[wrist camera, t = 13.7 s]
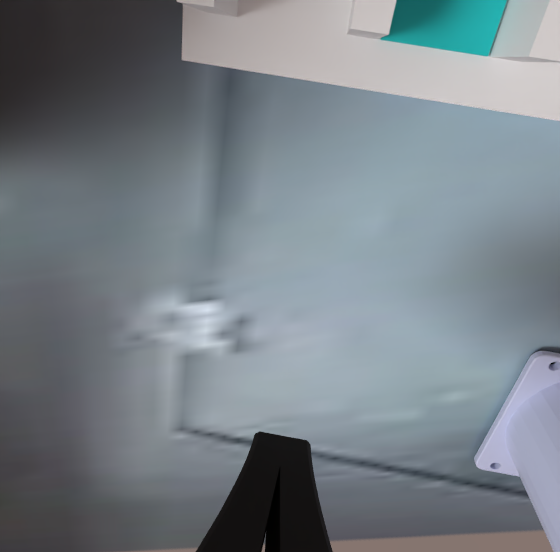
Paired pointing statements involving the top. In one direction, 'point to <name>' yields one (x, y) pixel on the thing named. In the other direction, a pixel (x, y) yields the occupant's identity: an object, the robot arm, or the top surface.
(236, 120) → the top surface
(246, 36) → the slot rack
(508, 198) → the top surface
